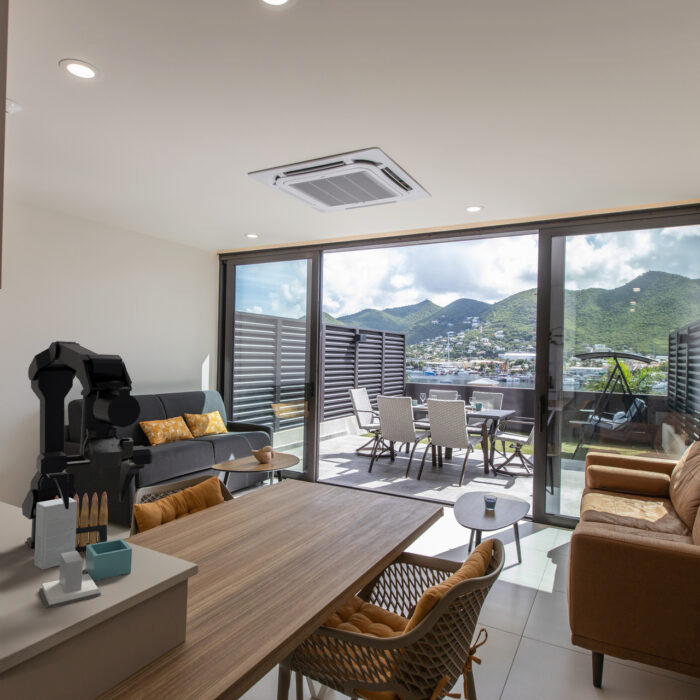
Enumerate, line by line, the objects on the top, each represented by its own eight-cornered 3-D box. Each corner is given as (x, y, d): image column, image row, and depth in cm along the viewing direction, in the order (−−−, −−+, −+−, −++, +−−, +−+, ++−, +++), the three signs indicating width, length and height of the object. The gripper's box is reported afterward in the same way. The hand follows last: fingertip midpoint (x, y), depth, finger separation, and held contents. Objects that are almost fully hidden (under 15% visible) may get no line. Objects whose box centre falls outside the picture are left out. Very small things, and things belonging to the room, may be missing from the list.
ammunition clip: (48, 557, 101) (51, 497, 101) (48, 553, 102) (51, 494, 103) (107, 548, 106) (109, 491, 106) (106, 546, 108) (109, 489, 108)
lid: (42, 588, 86) (44, 554, 87) (88, 578, 91) (89, 546, 91) (49, 604, 81) (51, 568, 81) (97, 593, 85) (99, 559, 86)
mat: (39, 590, 86) (39, 588, 86) (90, 579, 91) (90, 577, 91) (46, 608, 81) (46, 606, 81) (100, 595, 86) (100, 593, 86)
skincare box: (66, 555, 102) (69, 496, 102) (75, 561, 99) (78, 500, 99) (32, 564, 97) (35, 502, 97) (41, 570, 94) (44, 506, 95)
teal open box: (85, 568, 96) (86, 545, 96) (121, 561, 100) (122, 538, 100) (93, 581, 91) (94, 556, 91) (130, 572, 95) (132, 548, 95)
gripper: (48, 429, 82) (43, 526, 81) (163, 423, 93) (160, 508, 93) (38, 421, 90) (33, 508, 90) (145, 417, 102) (141, 494, 102)
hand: (94, 505), depth 93 cm, fingers open, 9 cm apart
